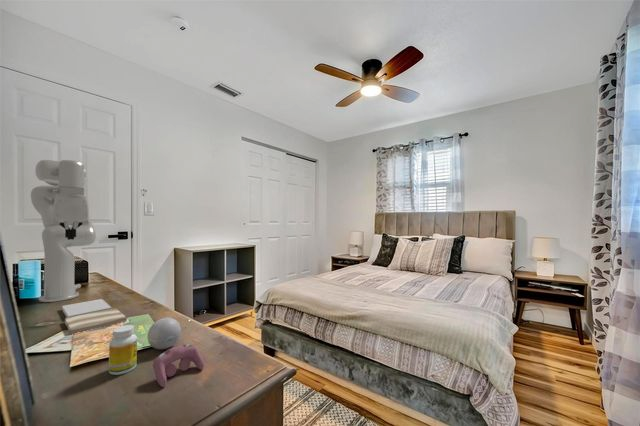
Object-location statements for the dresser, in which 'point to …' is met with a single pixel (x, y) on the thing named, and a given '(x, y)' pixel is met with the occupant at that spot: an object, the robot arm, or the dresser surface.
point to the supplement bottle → (122, 350)
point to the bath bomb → (164, 333)
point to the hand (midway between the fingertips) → (70, 239)
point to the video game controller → (164, 360)
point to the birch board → (94, 320)
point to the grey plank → (85, 308)
